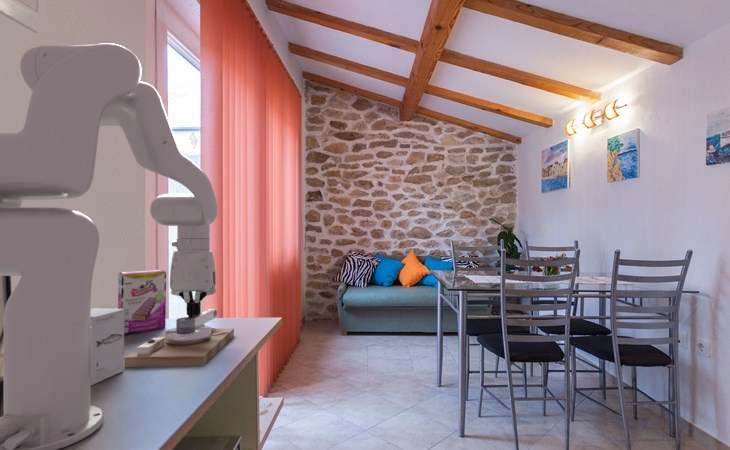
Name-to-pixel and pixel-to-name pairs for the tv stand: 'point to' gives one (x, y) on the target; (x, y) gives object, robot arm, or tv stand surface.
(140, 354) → the wooden cutting board
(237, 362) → the tv stand surface
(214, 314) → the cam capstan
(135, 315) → the candy bar box
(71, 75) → the robot arm
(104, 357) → the supplement box
